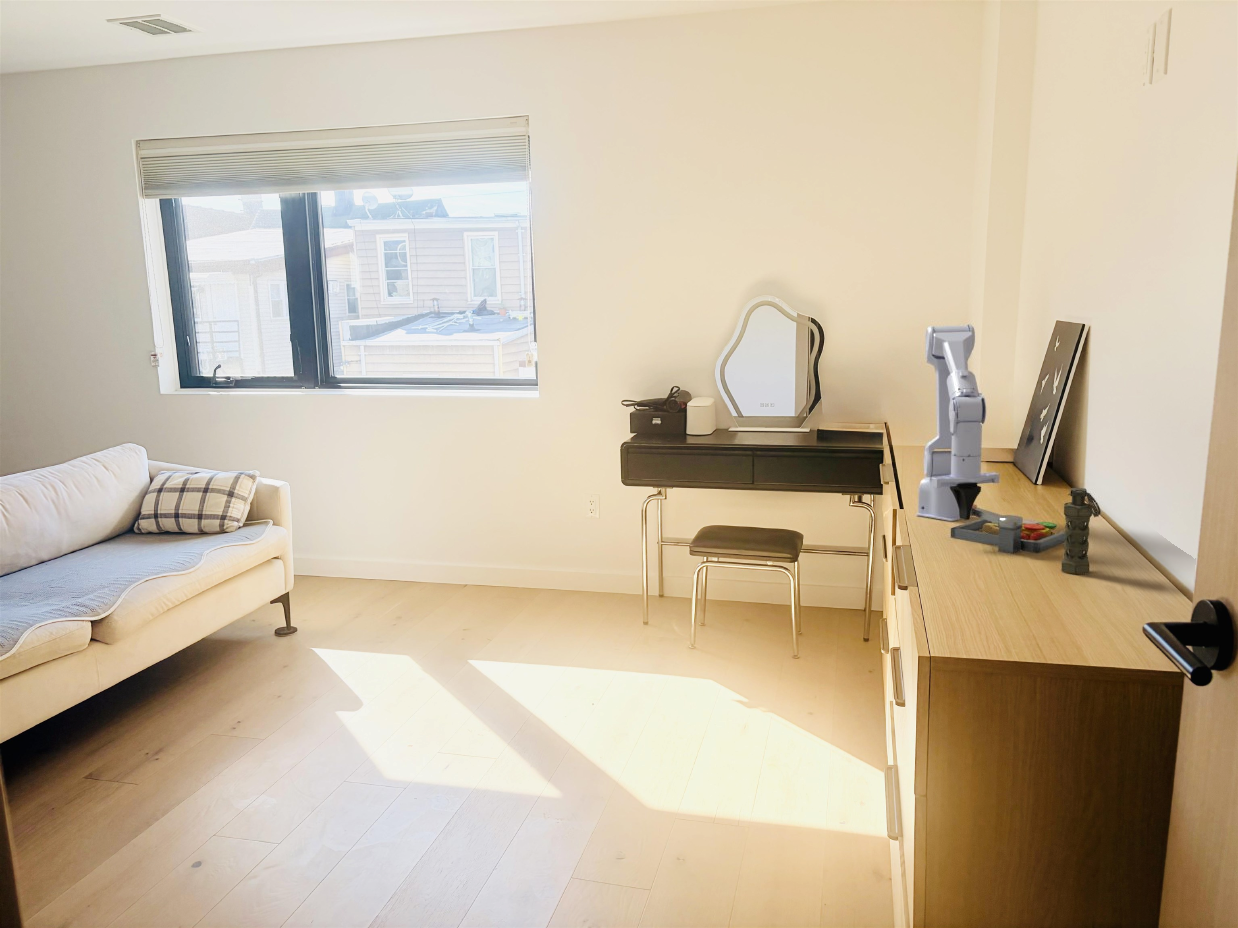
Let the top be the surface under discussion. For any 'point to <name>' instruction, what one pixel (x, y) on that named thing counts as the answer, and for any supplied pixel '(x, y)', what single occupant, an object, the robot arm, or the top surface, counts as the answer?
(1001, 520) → the press arm
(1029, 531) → the toy food set
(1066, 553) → the grenade
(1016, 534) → the tray
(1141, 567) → the top surface
